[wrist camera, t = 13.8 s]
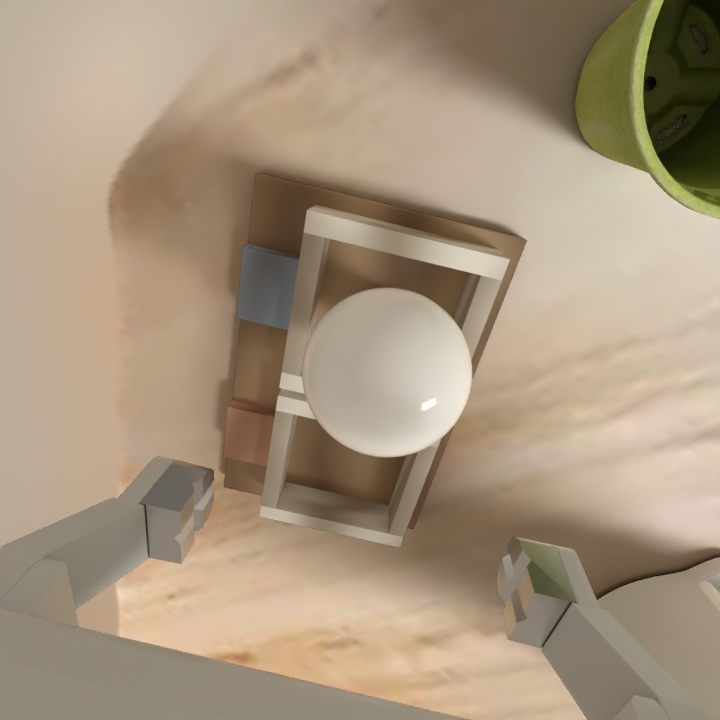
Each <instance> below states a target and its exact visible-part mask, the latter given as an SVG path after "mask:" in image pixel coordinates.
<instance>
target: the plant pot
mask: <svg viewBox="0 0 720 720" xmlns="http://www.w3.org/2000/svg"><path fill="white" fill-rule="evenodd" d="M691 25H692V26H693V25H697V26H698V27H699V28H700V30H701V31H702V33H703V34H704V36H705V38H706V41H707V44H708V47H707V51H706V53H705V54H703V55H702V54H701V53H700V51H699V48H698V43H697V40H696V39H695V37H694V35H693V34H692V33H691V32H690V30H689V26H691ZM649 77H653V78H655V80H656V86H655V88H654V89H653V90H650V91H647V90H646V89H645V87H644V83H645V80H646V79H647V78H649ZM575 114H576V119H577V123H578V126H579V129H580V132H581V134H582V136H583V138H584V139H585V140H586V142H587V143H588V144H589V145H590V146H591V147H592V148H593V149H594V150H595V151H596V152H598V153H599V154H600V155H602V156H604V157H606V158H608V159H611V160H614V161H617V162H620V163H623V164H626V165H629V166H631V167H634V168H637V169H639V170H642V171H645V172H647V173H649V174H650V175H651V177H652V178H653V179H654V180H655V182H656V183H657V184H658V185H659V186H660V187H661V188H662V189H663V190H664V191H665V192H666V193H667V194H668V195H669V196H670V197H672V198H673V199H674V200H676V201H677V202H679V203H680V204H682V205H683V206H685V207H687V208H689V209H691V210H694V211H696V212H699V213H701V214H703V215H707V216H710V217H714V218H718V219H720V0H636V1H635V2H634V3H633V4H632V5H631V6H630V7H628V8H627V9H626V10H625V11H624V12H623V13H622V14H621V15H620V16H619V17H618V18H617V19H616V20H615V21H614V22H613V23H612V24H611V25H610V26H609V27H608V28H607V29H606V30H605V32H604V33H603V34H602V35H601V36H600V38H599V39H598V40H597V42H596V43H595V44H594V46H593V47H592V49H591V51H590V52H589V54H588V56H587V58H586V60H585V62H584V65H583V68H582V72H581V75H580V79H579V84H578V89H577V94H576V100H575ZM684 114H685V115H686V119H685V121H684V123H683V124H682V125H681V127H680V128H679V129H678V130H676V131H675V132H673V133H672V134H671V135H670V136H668V137H666V138H664V139H662V140H657V139H656V137H657V135H658V134H659V133H660V132H662V131H663V130H665V129H667V128H668V127H669V126H671V125H672V124H673V123H674V122H675V121H676V120H677V119H678V118H679V117H680V116H681V115H684Z"/></svg>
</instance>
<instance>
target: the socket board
mask: <svg viewBox="0 0 720 720" xmlns="http://www.w3.org/2000/svg"><path fill="white" fill-rule="evenodd" d="M526 242H527V240H525V239H524V238H522V237H519V236H514V235H510V234H506V233H502V232H498V231H494V230H490V229H486V228H482V227H478V226H474V225H470V224H466V223H462V222H458V221H454V220H449V219H445V218H441V217H437V216H433V215H429V214H425V213H421V212H417V211H413V210H409V209H405V208H401V207H397V206H393V205H389V204H384V203H380V202H376V201H372V200H368V199H364V198H360V197H356V196H352V195H348V194H344V193H340V192H336V191H332V190H328V189H323V188H319V187H315V186H311V185H307V184H303V183H299V182H295V181H291V180H287V179H283V178H279V177H275V176H271V175H267V174H263V173H255V178H254V188H253V198H252V208H251V219H250V229H249V239H248V244H247V245H245V246H243V252H242V263H241V273H240V284H239V294H238V305H237V316H236V318H238V319H240V329H239V339H238V349H237V359H236V369H235V379H234V390H233V400H232V402H231V403H230V404H229V406H228V411H227V422H226V432H225V443H224V453H223V457H227V460H226V470H225V480H224V487H226V488H230V489H235V490H239V491H244V492H248V493H253V494H257V495H262V501H261V507H260V514H259V517H264V518H268V519H273V520H277V521H282V522H286V523H291V524H295V525H300V526H304V527H309V528H313V529H318V530H322V531H327V532H331V533H336V534H340V535H345V536H350V537H354V538H359V539H363V540H368V541H372V542H377V543H381V544H386V545H390V546H395V547H400V545H401V542H402V540H403V537H404V534H405V532H406V529H407V528H409V529H413V528H414V526H415V523H416V521H417V518H418V516H419V513H420V510H421V508H422V505H423V503H424V500H425V498H426V495H427V493H428V490H429V488H430V485H431V483H432V480H433V478H434V475H435V472H436V470H437V467H438V465H439V462H440V460H441V457H442V455H443V452H444V450H445V447H446V445H447V442H448V439H449V437H450V434H451V432H452V429H453V427H454V426H453V427H452V428H451V429H450V430H449V432H448V433H447V434H445V435H444V436H443V437H442V438H441V439H440V440H438V441H437V442H436V443H434V444H432V445H431V446H429V447H427V448H425V449H423V450H421V451H419V452H416V453H413V454H410V455H406V456H400V457H388V458H386V457H374V456H369V455H365V454H361V453H358V452H356V451H353V450H351V449H349V448H347V447H345V446H344V445H342V444H340V443H339V442H338V441H336V440H335V439H334V438H332V437H331V436H330V435H329V434H328V433H327V432H326V431H325V430H324V429H323V428H322V426H321V425H320V424H319V423H318V421H317V420H316V418H315V417H314V415H313V413H312V411H311V409H310V407H309V405H308V402H307V399H306V396H305V393H304V388H303V382H302V362H303V356H304V352H305V348H306V345H307V342H308V340H309V337H310V335H311V333H312V331H313V330H314V328H315V326H316V325H317V323H318V322H319V321H320V319H321V318H322V317H323V316H324V315H325V314H326V313H327V312H328V311H329V310H330V309H331V308H332V307H333V306H335V305H336V304H337V303H339V302H340V301H342V300H343V299H345V298H347V297H349V296H351V295H353V294H355V293H358V292H361V291H364V290H368V289H374V288H384V287H390V288H400V289H406V290H410V291H413V292H416V293H418V294H421V295H423V296H425V297H427V298H429V299H431V300H432V301H434V302H435V303H437V304H438V305H439V306H441V307H442V308H443V309H444V310H445V311H446V312H447V313H448V314H449V315H450V316H451V317H452V318H453V319H454V321H455V322H456V323H457V325H458V326H459V328H460V330H461V331H462V333H463V335H464V337H465V340H466V342H467V345H468V348H469V352H470V356H471V362H472V379H473V376H474V373H475V371H476V368H477V366H478V363H479V361H480V358H481V356H482V353H483V351H484V348H485V346H486V343H487V341H488V338H489V335H490V333H491V330H492V328H493V325H494V323H495V320H496V318H497V315H498V313H499V310H500V308H501V305H502V302H503V300H504V297H505V295H506V292H507V290H508V287H509V285H510V282H511V280H512V277H513V275H514V272H515V269H516V267H517V264H518V262H519V259H520V257H521V254H522V252H523V249H524V247H525V244H526Z"/></svg>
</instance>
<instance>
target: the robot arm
mask: <svg viewBox="0 0 720 720" xmlns="http://www.w3.org/2000/svg"><path fill="white" fill-rule="evenodd" d="M213 481H214V471H213V470H212V469H210V468H206V467H202V466H198V465H194V464H190V463H186V462H182V461H178V460H172V459H168V458H164V457H160V456H158V457H156V458H154V459H153V460H152V461H151V462H150V463H149V464H148V465H147V466H146V467H145V469H144V470H143V471H142V472H141V473H140V474H139V475H138V476H137V478H136V479H135V480H134V481H133V482H132V483H131V484H130V485H129V487H128V488H127V489H126V490H125V491H124V492H123V493H122V494H121V495H120V497H119V498H118V499H115V498H110V499H108V500H106V501H104V502H101V503H99V504H97V505H94V506H92V507H90V508H88V509H85V510H83V511H81V512H78V513H76V514H74V515H72V516H69V517H67V518H65V519H63V520H60V521H58V522H56V523H53V524H51V525H49V526H47V527H44V528H42V529H40V530H37V531H35V532H33V533H31V534H28V535H26V536H24V537H22V538H19V539H17V540H15V541H13V542H10V543H8V544H6V545H3V546H2V547H1V548H0V720H470V719H465V718H461V717H457V716H453V715H448V714H444V713H440V712H436V711H431V710H427V709H423V708H419V707H415V706H410V705H406V704H402V703H398V702H393V701H389V700H385V699H381V698H377V697H372V696H368V695H364V694H360V693H355V692H351V691H347V690H343V689H338V688H334V687H330V686H326V685H322V684H317V683H313V682H309V681H305V680H300V679H296V678H292V677H288V676H283V675H279V674H275V673H271V672H266V671H262V670H258V669H254V668H250V667H245V666H241V665H237V664H233V663H228V662H224V661H220V660H216V659H212V658H207V657H203V656H199V655H195V654H191V653H186V652H182V651H178V650H174V649H169V648H165V647H161V646H157V645H153V644H148V643H144V642H140V641H136V640H131V639H127V638H123V637H119V636H115V635H110V634H106V633H101V632H97V631H94V630H89V629H85V628H81V627H79V622H78V618H77V613H76V609H77V608H79V607H80V606H82V605H83V604H85V603H86V602H88V601H89V600H91V599H92V598H93V597H95V596H96V595H98V594H99V593H101V592H102V591H103V590H104V589H106V588H108V587H109V586H111V585H112V584H113V583H115V582H116V581H118V580H119V579H121V578H122V577H124V576H125V575H126V574H128V573H129V572H131V571H132V570H134V569H135V568H137V567H138V566H139V565H141V564H142V563H144V562H145V561H147V560H148V557H149V558H154V559H159V560H164V561H169V562H174V563H179V564H182V562H183V560H184V559H185V557H186V555H187V554H188V552H189V550H190V548H191V547H192V545H193V543H194V532H196V531H198V530H200V529H201V528H203V526H204V524H205V522H206V521H207V519H208V516H209V514H210V511H211V508H212V503H213V493H214V492H213V491H212V490H211V488H210V485H211V484H212V482H213ZM508 549H509V553H510V554H508V555H506V556H504V557H502V559H501V561H500V564H499V566H498V572H497V588H498V594H499V596H500V598H501V599H502V600H503V602H504V603H505V604H506V606H505V608H504V610H503V612H502V614H503V619H504V624H505V629H506V634H507V639H508V640H512V641H516V642H520V643H524V644H528V645H531V646H535V647H539V648H542V652H543V653H544V655H545V656H546V658H547V659H548V661H549V662H550V664H551V665H552V667H553V668H554V670H555V671H556V673H557V674H558V676H559V677H560V679H561V680H562V682H563V683H564V685H565V686H566V688H567V690H568V691H569V693H570V694H571V696H572V697H573V699H574V700H575V702H576V703H577V705H578V706H579V708H580V709H581V711H582V712H583V714H584V715H585V717H586V718H587V720H720V557H717V558H714V559H711V560H709V561H706V562H704V563H701V564H699V565H697V566H694V567H692V568H690V569H688V570H685V571H682V572H678V573H673V574H667V575H661V576H656V577H651V578H647V579H643V580H639V581H636V582H633V583H630V584H627V585H625V586H622V587H620V588H618V589H615V590H613V591H611V592H610V593H608V594H606V595H604V596H603V597H601V598H600V599H598V600H597V599H596V597H595V595H594V592H593V590H592V588H591V585H590V583H589V581H588V578H587V576H586V574H585V571H584V569H583V567H582V564H581V562H580V560H579V557H578V555H577V553H576V552H575V551H574V550H573V549H571V548H566V547H562V546H557V545H551V544H548V543H543V542H538V541H534V540H529V539H524V538H519V537H514V538H512V539H511V541H510V543H509V545H508Z"/></svg>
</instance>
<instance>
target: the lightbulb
mask: <svg viewBox="0 0 720 720" xmlns="http://www.w3.org/2000/svg"><path fill="white" fill-rule="evenodd" d="M302 382H303V388H304V393H305V396H306V399H307V402H308V405H309V407H310V409H311V411H312V413H313V415H314V417H315V418H316V420H317V421H318V423H319V424H320V425H321V426H322V428H323V429H324V430H325V431H326V432H327V433H328V434H329V435H330V436H331V437H332V438H334V439H335V440H336V441H338V442H339V443H340V444H342V445H344V446H345V447H347V448H349V449H351V450H353V451H356V452H358V453H361V454H365V455H369V456H374V457H386V458H388V457H400V456H406V455H410V454H413V453H416V452H419V451H421V450H423V449H425V448H427V447H429V446H431V445H432V444H434V443H436V442H437V441H438V440H440V439H441V438H442V437H443V436H444V435H445V434H447V433H448V432H449V430H450V429H451V428H452V427H453V426H454V425H455V423H456V422H457V420H458V419H459V417H460V416H461V414H462V412H463V410H464V408H465V406H466V403H467V401H468V398H469V394H470V390H471V384H472V362H471V356H470V352H469V348H468V345H467V342H466V340H465V337H464V335H463V333H462V331H461V330H460V328H459V326H458V325H457V323H456V322H455V321H454V319H453V318H452V317H451V316H450V315H449V314H448V313H447V312H446V311H445V310H444V309H443V308H442V307H441V306H439V305H438V304H437V303H435V302H434V301H432V300H431V299H429V298H427V297H425V296H423V295H421V294H418V293H416V292H413V291H410V290H406V289H400V288H390V287H384V288H374V289H368V290H364V291H361V292H358V293H355V294H353V295H351V296H349V297H347V298H345V299H343V300H342V301H340V302H339V303H337V304H336V305H335V306H333V307H332V308H331V309H330V310H329V311H328V312H327V313H326V314H325V315H324V316H323V317H322V318H321V319H320V321H319V322H318V323H317V325H316V326H315V328H314V330H313V331H312V333H311V335H310V337H309V340H308V342H307V345H306V348H305V352H304V356H303V362H302Z"/></svg>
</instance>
